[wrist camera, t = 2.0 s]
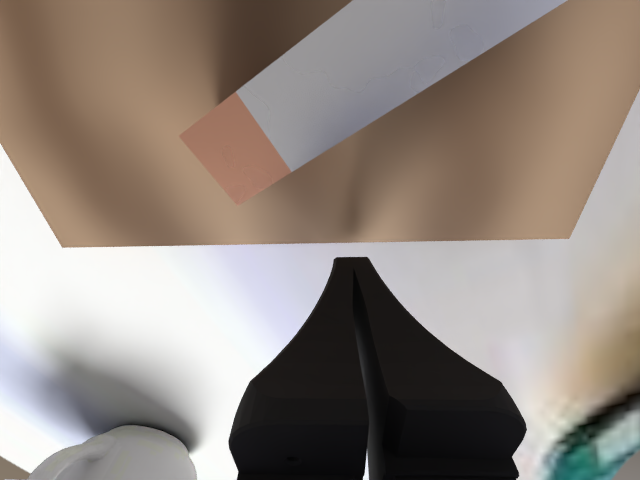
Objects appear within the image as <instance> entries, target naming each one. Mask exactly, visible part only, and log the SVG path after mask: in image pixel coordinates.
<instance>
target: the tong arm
mask: <svg viewBox="0 0 640 480" xmlns="http://www.w3.org/2000/svg"><path fill="white" fill-rule="evenodd" d="M566 1H567V0H353V1H351V2H350V3H349V4H348V5H346V6H345V7H344V8H342V9H341V10H340V11H339V12H337V13H336V14H335V15H333V16H332V17H331V18H330V19H328V20H327V21H326V22H324V23H323V24H322V25H321V26H319V27H318V28H317V29H315V30H314V31H313V32H312V33H310V34H309V35H308V36H306V37H305V38H304V39H303V40H301V41H300V42H299V43H297V44H296V45H295V46H294V47H292V48H291V49H290V50H288V51H287V52H286V53H285V54H283V55H282V56H281V57H279V58H278V59H277V60H276V61H274V62H273V63H272V64H270V65H269V66H268V67H267V68H265V69H264V70H263V71H261V72H260V73H259V74H258V75H256V76H255V77H254V78H252V79H251V80H250V81H249V82H247V83H246V84H245V85H243V86H242V87H241V88H240V89H238V90H237V91H236V92H234V93H233V94H232V95H231V96H229V97H228V98H227V99H225V100H224V101H223V102H222V103H220V104H219V105H218V106H216V107H215V108H214V109H213V110H211V111H210V112H209V113H208V114H206V115H205V116H204V117H202V118H201V119H200V120H199V121H197V122H196V123H195V124H193V125H192V126H191V127H190V128H188V129H187V130H186V131H184V132H183V133H182V134H181V135H179V137H180V138H181V140H182V141H183V142H184V143H185V144H186V146H187V147H188V148H189V149H190V150H191V151H192V153H193V154H194V155H195V156H196V157H197V159H198V160H199V161H200V162H201V163H202V165H203V166H204V167H205V168H206V169H207V170H208V172H209V173H210V174H211V175H212V176H213V178H214V179H215V180H216V181H217V182H218V183H219V185H220V186H221V187H222V188H223V189H224V191H225V192H226V193H227V194H228V195H229V196H230V198H231V199H232V200H233V201H234V202H235V204H236V205H237V206H238V205H240V204H242V203H243V202H245V201H246V200H248V199H250V198H251V197H253V196H254V195H256V194H258V193H259V192H261V191H262V190H264V189H266V188H267V187H269V186H270V185H272V184H274V183H275V182H277V181H278V180H280V179H282V178H283V177H285V176H286V175H288V174H290V173H291V172H293V171H294V170H296V169H298V168H299V167H301V166H303V165H304V164H306V163H307V162H309V161H311V160H312V159H314V158H315V157H317V156H319V155H320V154H322V153H323V152H325V151H327V150H328V149H330V148H331V147H333V146H335V145H336V144H338V143H339V142H341V141H343V140H344V139H346V138H347V137H349V136H351V135H352V134H354V133H355V132H357V131H359V130H360V129H362V128H364V127H365V126H367V125H368V124H370V123H372V122H373V121H375V120H376V119H378V118H380V117H381V116H383V115H384V114H386V113H388V112H389V111H391V110H392V109H394V108H396V107H397V106H399V105H400V104H402V103H404V102H405V101H407V100H408V99H410V98H412V97H413V96H415V95H416V94H418V93H420V92H421V91H423V90H424V89H426V88H428V87H429V86H431V85H433V84H434V83H436V82H437V81H439V80H441V79H442V78H444V77H445V76H447V75H449V74H450V73H452V72H453V71H455V70H457V69H458V68H460V67H461V66H463V65H465V64H466V63H468V62H469V61H471V60H473V59H474V58H476V57H477V56H479V55H481V54H482V53H484V52H485V51H487V50H489V49H490V48H492V47H494V46H495V45H497V44H498V43H500V42H502V41H503V40H505V39H506V38H508V37H510V36H511V35H513V34H514V33H516V32H518V31H519V30H521V29H522V28H524V27H526V26H527V25H529V24H530V23H532V22H534V21H535V20H537V19H538V18H540V17H542V16H543V15H545V14H546V13H548V12H550V11H551V10H553V9H554V8H556V7H558V6H559V5H561V4H563V3H564V2H566Z"/></svg>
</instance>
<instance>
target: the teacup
mask: <svg viewBox="0 0 640 480" xmlns="http://www.w3.org/2000/svg"><path fill="white" fill-rule="evenodd" d="M27 480H197V474H196V470H195V466H194V464H193V462H192V461H191V459H190V457H189V452H188V450H187V448H186V447H185V445H184V444H183V443H182V442H181V441H180V440H178V439H177V438H176V437H174V436H172V435H170V434H168V433H165V432H163V431H161V430H157V429H154V428H149V427H144V426H136V425H125V426H120V427H117V428H114V429H112V430H110V431H109V432H106V433H103V434H100V435H97V436H94V437H92V438H90V439H88V440H87V441H85V442H84V443H82V444H80V445H75V446H71V447H68V448H65V449H62V450H60V451H58V452H56V453H54V454H53V455H51V456H50V457H48V458H47V459H46V460H44V461H43V462H42V463H41V464H40V465H39V466H38V467H37V468H36V469H35V470H34V471H33V472H32V473H31V474H30V476H29V478H28V479H27Z"/></svg>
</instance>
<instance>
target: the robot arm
mask: <svg viewBox="0 0 640 480" xmlns="http://www.w3.org/2000/svg"><path fill="white" fill-rule="evenodd" d="M526 431H527V429H526V423H525V421H524V419H523V417H522V415H521V413H520V411H519V410H518V408H517V406H516V404H515V403H514V401H513V399H512V398H511V396H510V395H509V393H508V392H507V390H506V389H505V387H504V386H503V384H502V383H501V382H500V381H499V380H497V379H495V378H494V377H492V376H490V375H489V374H487V373H486V372H484V371H482V370H481V369H479V368H478V367H476V366H474V365H473V364H471V363H470V362H468V361H467V360H465V359H464V358H462V357H461V356H459V355H458V354H457V353H455V352H454V351H452V350H451V349H450V348H448V347H447V346H446V345H445V344H443V343H442V342H441V341H440V340H438V339H437V338H436V337H435V336H433V335H432V334H431V333H430V332H429V331H427V330H426V329H425V328H424V327H423V326H422V325H421V324H420V323H419V322H418V321H417V320H416V319H415V318H414V317H413V316H412V315H411V314H410V313H409V312H408V311H407V310H406V309H405V308H404V307H403V306H402V304H401V303H400V302H399V301H398V300H397V299H396V297H395V296H394V295H393V294H392V292H391V291H390V290H389V289H388V287H387V286H386V285H385V283H384V282H383V280H382V279H381V278H380V276H379V275H378V273H377V272H376V270H375V268H374V267H373V265H372V263H371V261H370V259H369V258H367V257H336V258H335V259H334V263H333V268H332V271H331V274H330V277H329V279H328V282H327V284H326V286H325V289H324V291H323V293H322V295H321V297H320V299H319V300H318V302H317V304H316V306H315V308H314V309H313V311H312V313H311V314H310V316H309V317H308V319H307V320H306V322H305V323H304V324H303V326H302V327H301V328H300V330H299V331H298V332H297V334H296V335H295V336H294V338H293V339H292V340H291V341H290V342H289V343H288V345H287V346H286V347H285V348H284V349H283V350H282V351H281V352H280V353H279V354H278V355H277V357H276V358H275V359H274V360H273V361H272V362H271V363H270V364H269V365H267V366H266V367H265V368H264V369H263V370H262V371H261V372H260V373H259V374H258V375H257V376H255V377H254V378H253V379H252V380H251V381H250V383H249V385H248V386H247V389H246V391H245V393H244V395H243V397H242V399H241V402H240V404H239V407H238V409H237V412H236V415H235V418H234V422H233V426H232V429H231V433H230V437H229V441H228V442H229V449H230V451H231V454H232V456H233V459H234V461H235V464H236V466H237V469H238V471H239V472H238V477H237V480H363V476H364V472H365V463H366V453H368V468H369V480H516V478H518V477H519V472H518V470H517V468H516V465H515V463H514V461H513V459H512V456H513V454H514V453H515V451H516V450H517V448H518V447H519V445H520V444H521V442H522V440H523V438H524V436H525V433H526ZM5 480H16V479H5ZM17 480H18V479H17ZM20 480H21V479H20Z"/></svg>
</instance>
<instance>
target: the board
mask: <svg viewBox="0 0 640 480" xmlns="http://www.w3.org/2000/svg"><path fill="white" fill-rule="evenodd" d="M351 1H353V0H0V143H1V145H2V147H3V148H4V150H5V152H6V153H7V155H8V157H9V159H10V160H11V162H12V164H13V165H14V167H15V169H16V170H17V172H18V174H19V175H20V177H21V179H22V180H23V182H24V184H25V185H26V187H27V189H28V191H29V192H30V194H31V196H32V197H33V199H34V201H35V202H36V204H37V206H38V207H39V209H40V211H41V212H42V214H43V216H44V218H45V219H46V221H47V223H48V224H49V226H50V228H51V229H52V231H53V233H54V234H55V236H56V238H57V239H58V241H59V243H60V244H61V246H62V248H65V247H122V246H180V245H237V244H294V243H352V242H409V241H466V240H523V239H569V238H570V236H571V234H572V232H573V230H574V228H575V225H576V223H577V221H578V219H579V217H580V215H581V213H582V211H583V208H584V206H585V204H586V202H587V200H588V198H589V196H590V194H591V191H592V189H593V187H594V185H595V183H596V181H597V179H598V177H599V174H600V172H601V170H602V168H603V166H604V164H605V162H606V159H607V157H608V155H609V153H610V151H611V149H612V147H613V145H614V142H615V140H616V138H617V136H618V134H619V132H620V130H621V128H622V125H623V123H624V121H625V119H626V117H627V115H628V113H629V111H630V108H631V106H632V104H633V102H634V100H635V98H636V96H637V94H638V91H639V89H640V0H567V1H566V2H564V3H563V4H561V5H559V6H558V7H556V8H554V9H553V10H551V11H550V12H548V13H546V14H545V15H543V16H542V17H540V18H538V19H537V20H535V21H534V22H532V23H530V24H529V25H527V26H526V27H524V28H522V29H521V30H519V31H518V32H516V33H514V34H513V35H511V36H510V37H508V38H506V39H505V40H503V41H502V42H500V43H498V44H497V45H495V46H494V47H492V48H490V49H489V50H487V51H485V52H484V53H482V54H481V55H479V56H477V57H476V58H474V59H473V60H471V61H469V62H468V63H466V64H465V65H463V66H461V67H460V68H458V69H457V70H455V71H453V72H452V73H450V74H449V75H447V76H445V77H444V78H442V79H441V80H439V81H437V82H436V83H434V84H433V85H431V86H429V87H428V88H426V89H424V90H423V91H421V92H420V93H418V94H416V95H415V96H413V97H412V98H410V99H408V100H407V101H405V102H404V103H402V104H400V105H399V106H397V107H396V108H394V109H392V110H391V111H389V112H388V113H386V114H384V115H383V116H381V117H380V118H378V119H376V120H375V121H373V122H372V123H370V124H368V125H367V126H365V127H364V128H362V129H360V130H359V131H357V132H355V133H354V134H352V135H351V136H349V137H347V138H346V139H344V140H343V141H341V142H339V143H338V144H336V145H335V146H333V147H331V148H330V149H328V150H327V151H325V152H323V153H322V154H320V155H319V156H317V157H315V158H314V159H312V160H311V161H309V162H307V163H306V164H304V165H303V166H301V167H299V168H298V169H296V170H294V171H293V172H291V173H290V174H288V175H286V176H285V177H283V178H282V179H280V180H278V181H277V182H275V183H274V184H272V185H270V186H269V187H267V188H266V189H264V190H262V191H261V192H259V193H258V194H256V195H254V196H253V197H251V198H250V199H248V200H246V201H245V202H243V203H242V204H240V205H238V206H237V205H236V204H235V202H234V201H233V200H232V199H231V198H230V196H229V195H228V194H227V193H226V192H225V191H224V189H223V188H222V187H221V186H220V185H219V183H218V182H217V181H216V180H215V179H214V178H213V176H212V175H211V174H210V173H209V172H208V170H207V169H206V168H205V167H204V166H203V165H202V163H201V162H200V161H199V160H198V159H197V157H196V156H195V155H194V154H193V153H192V151H191V150H190V149H189V148H188V147H187V146H186V144H185V143H184V142H183V141H182V140H181V138H180V137H179V135H181V134H182V133H183V132H184V131H186V130H187V129H188V128H190V127H191V126H192V125H193V124H195V123H196V122H197V121H199V120H200V119H201V118H202V117H204V116H205V115H206V114H208V113H209V112H210V111H211V110H213V109H214V108H215V107H216V106H218V105H219V104H220V103H222V102H223V101H224V100H225V99H227V98H228V97H229V96H231V95H232V94H233V93H234V92H236V91H237V90H238V89H240V88H241V87H242V86H243V85H245V84H246V83H247V82H249V81H250V80H251V79H252V78H254V77H255V76H256V75H258V74H259V73H260V72H261V71H263V70H264V69H265V68H267V67H268V66H269V65H270V64H272V63H273V62H274V61H276V60H277V59H278V58H279V57H281V56H282V55H283V54H285V53H286V52H287V51H288V50H290V49H291V48H292V47H294V46H295V45H296V44H297V43H299V42H300V41H301V40H303V39H304V38H305V37H306V36H308V35H309V34H310V33H312V32H313V31H314V30H315V29H317V28H318V27H319V26H321V25H322V24H323V23H324V22H326V21H327V20H328V19H330V18H331V17H332V16H333V15H335V14H336V13H337V12H339V11H340V10H341V9H342V8H344V7H345V6H346V5H348V4H349V3H350V2H351Z"/></svg>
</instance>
